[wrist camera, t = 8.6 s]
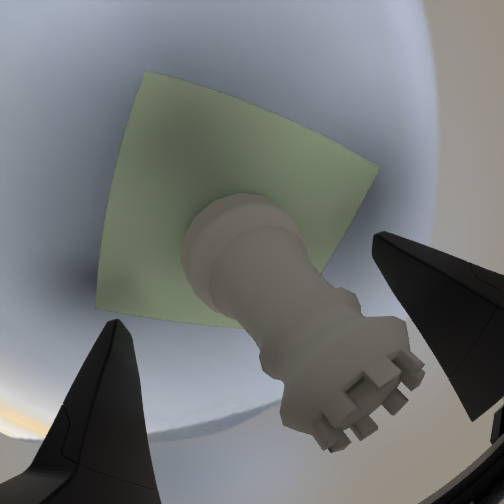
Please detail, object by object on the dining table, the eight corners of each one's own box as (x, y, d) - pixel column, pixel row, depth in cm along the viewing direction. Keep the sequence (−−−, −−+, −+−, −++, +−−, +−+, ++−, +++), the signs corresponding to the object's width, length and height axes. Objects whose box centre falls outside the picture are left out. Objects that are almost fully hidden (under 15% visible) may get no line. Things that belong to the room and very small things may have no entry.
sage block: (272, 307, 17) (283, 331, 16) (100, 280, 13) (95, 308, 11) (355, 154, 13) (380, 167, 11) (150, 72, 9) (145, 70, 7)
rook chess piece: (306, 234, 12) (461, 351, 5) (237, 312, 12) (340, 468, 6) (234, 164, 10) (442, 267, 3) (153, 260, 10) (217, 482, 3)
